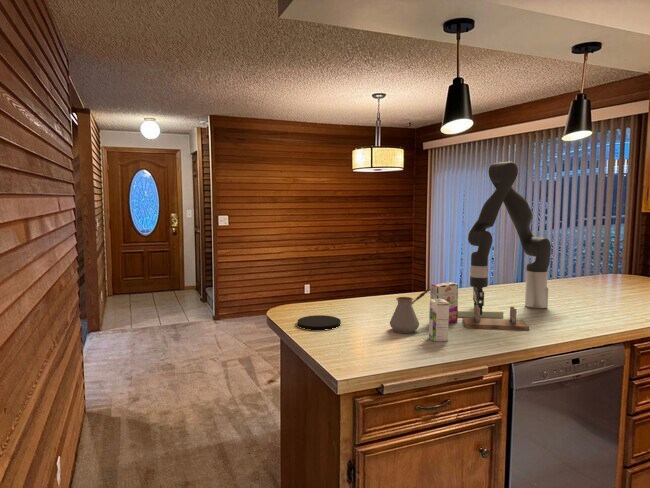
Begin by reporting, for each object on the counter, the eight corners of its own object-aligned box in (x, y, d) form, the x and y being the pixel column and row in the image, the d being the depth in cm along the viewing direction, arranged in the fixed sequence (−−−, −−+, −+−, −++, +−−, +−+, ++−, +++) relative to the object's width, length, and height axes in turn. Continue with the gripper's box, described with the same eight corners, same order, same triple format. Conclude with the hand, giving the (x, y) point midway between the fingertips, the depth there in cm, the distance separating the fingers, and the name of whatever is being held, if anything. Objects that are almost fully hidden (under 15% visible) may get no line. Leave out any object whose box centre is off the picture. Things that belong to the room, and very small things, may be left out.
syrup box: (428, 337, 170) (428, 298, 169) (443, 336, 171) (444, 298, 169) (433, 341, 164) (433, 302, 163) (448, 341, 165) (449, 301, 164)
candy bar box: (449, 319, 195) (450, 281, 194) (457, 322, 191) (458, 283, 189) (429, 322, 190) (429, 284, 189) (437, 325, 186) (438, 286, 184)
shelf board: (499, 315, 204) (499, 308, 203) (503, 318, 198) (503, 312, 197) (453, 314, 205) (453, 307, 205) (456, 317, 200) (456, 311, 199)
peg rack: (522, 323, 188) (523, 305, 187) (529, 330, 178) (529, 311, 178) (462, 321, 192) (462, 303, 191) (465, 327, 182) (466, 309, 182)
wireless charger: (336, 319, 198) (336, 314, 198) (344, 330, 181) (344, 325, 181) (295, 320, 195) (295, 316, 195) (300, 332, 178) (300, 327, 178)
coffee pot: (405, 336, 171) (405, 297, 169) (383, 330, 180) (383, 292, 178) (441, 326, 184) (441, 290, 182) (419, 321, 193) (419, 286, 191)
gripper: (491, 278, 192) (489, 316, 194) (484, 273, 206) (483, 309, 208) (472, 278, 193) (471, 316, 195) (467, 272, 208) (466, 308, 209)
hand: (477, 312), depth 201 cm, fingers open, 7 cm apart
